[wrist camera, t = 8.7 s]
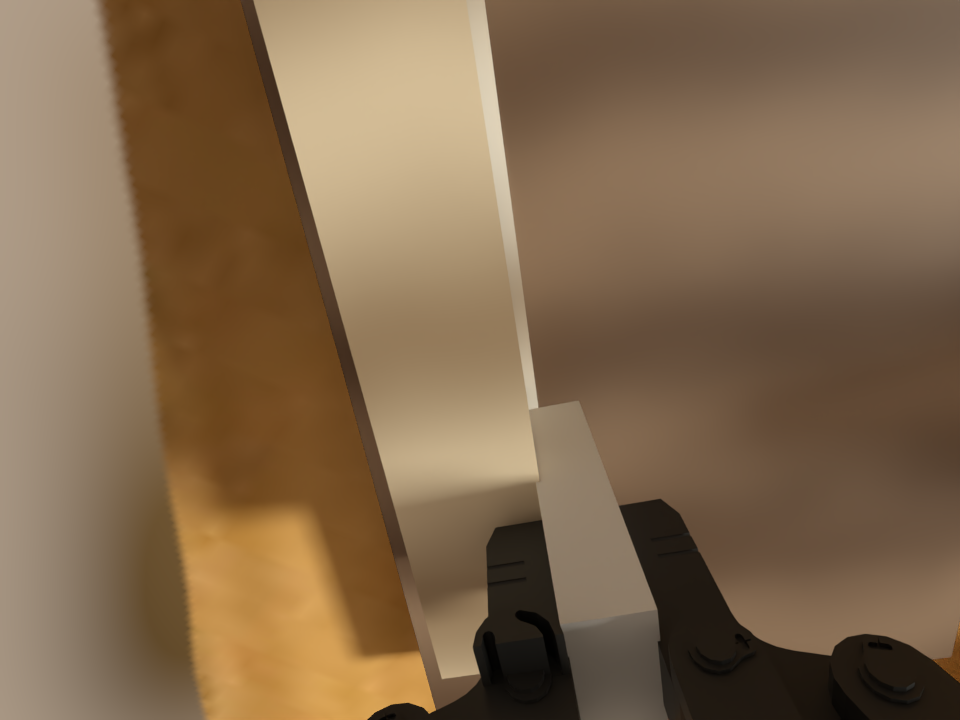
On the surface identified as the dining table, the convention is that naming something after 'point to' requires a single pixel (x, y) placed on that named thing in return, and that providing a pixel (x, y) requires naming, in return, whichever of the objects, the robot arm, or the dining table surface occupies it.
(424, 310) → the folding leg
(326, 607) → the dining table surface
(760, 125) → the stool seat
